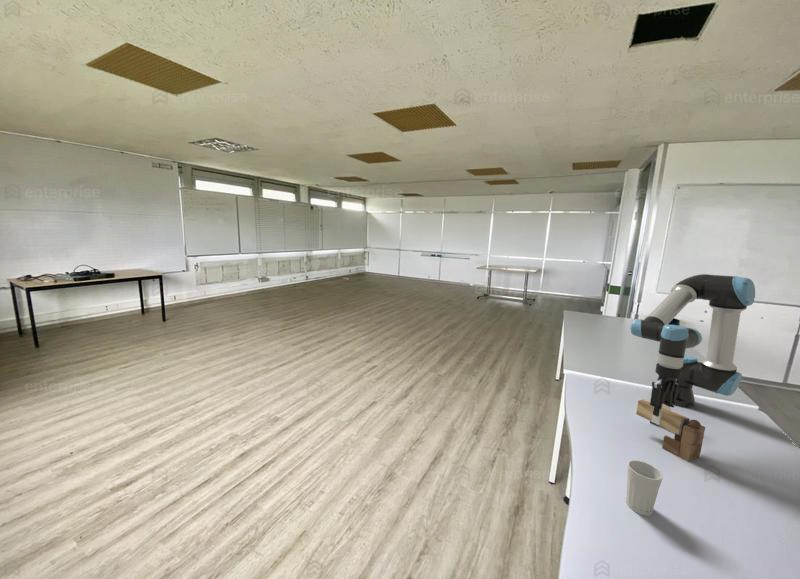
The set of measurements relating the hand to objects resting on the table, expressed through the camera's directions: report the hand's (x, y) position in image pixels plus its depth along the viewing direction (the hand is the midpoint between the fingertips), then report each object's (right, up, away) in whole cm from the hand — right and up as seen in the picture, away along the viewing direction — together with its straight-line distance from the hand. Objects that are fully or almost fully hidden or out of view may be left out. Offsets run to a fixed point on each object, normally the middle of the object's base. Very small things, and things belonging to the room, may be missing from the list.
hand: (659, 421), depth 124 cm
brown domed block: (+3, -9, -6) cm, 11 cm away
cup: (-32, -12, -32) cm, 47 cm away
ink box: (+11, -6, +14) cm, 19 cm away
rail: (0, 0, 0) cm, 0 cm away
